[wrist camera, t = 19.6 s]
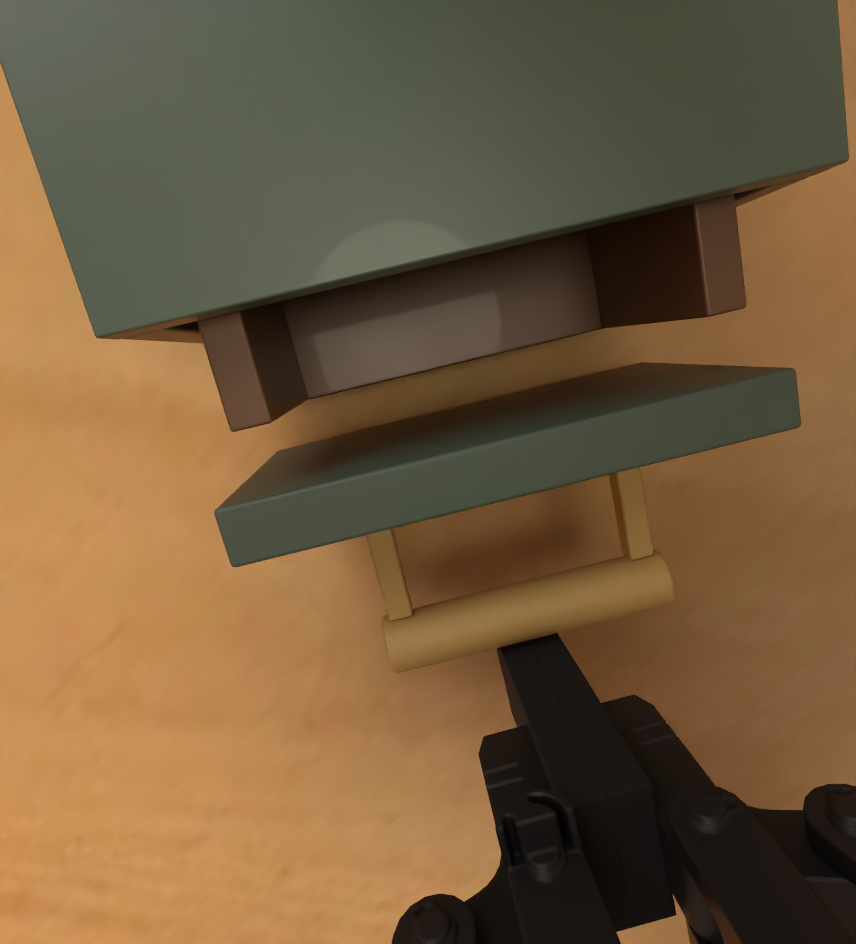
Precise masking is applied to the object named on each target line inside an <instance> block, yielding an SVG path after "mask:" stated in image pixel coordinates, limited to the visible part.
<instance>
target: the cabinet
mask: <svg viewBox="0 0 856 944" xmlns="http://www.w3.org/2000/svg"><path fill="white" fill-rule="evenodd" d="M0 63H1V66H2V69H3V71H4V74H5V77H6V80H7V83H8V86H9V89H10V92H11V95H12V97H13V100H14V103H15V106H16V109H17V112H18V115H19V118H20V120H21V123H22V126H23V129H24V132H25V135H26V138H27V141H28V144H29V146H30V149H31V152H32V155H33V158H34V161H35V164H36V167H37V169H38V172H39V175H40V178H41V181H42V184H43V187H44V190H45V193H46V195H47V198H48V201H49V204H50V207H51V210H52V213H53V216H54V219H55V221H56V224H57V227H58V230H59V233H60V236H61V239H62V242H63V244H64V247H65V250H66V253H67V256H68V259H69V262H70V265H71V268H72V270H73V273H74V276H75V279H76V282H77V285H78V288H79V291H80V293H81V296H82V299H83V302H84V305H85V308H86V311H87V314H88V317H89V319H90V322H91V325H92V328H93V331H94V334H95V336H96V338H102V339H132V340H151V341H170V342H189V343H203V340H202V336H201V333H200V330H199V327H198V323H197V321H199V320H203V319H207V318H211V317H216V316H220V315H224V314H228V313H232V312H237V311H241V310H245V309H249V308H254V307H258V306H262V305H266V304H271V303H275V302H279V301H283V300H287V299H292V298H296V297H300V296H304V295H309V294H313V293H317V292H321V291H326V290H330V289H334V288H338V287H342V286H347V285H351V284H355V283H359V282H364V281H368V280H372V279H376V278H381V277H385V276H389V275H393V274H397V273H402V272H406V271H410V270H414V269H419V268H423V267H427V266H431V265H436V264H440V263H444V262H448V261H452V260H457V259H461V258H465V257H469V256H474V255H478V254H482V253H486V252H491V251H495V250H499V249H503V248H508V247H512V246H516V245H520V244H524V243H529V242H533V241H537V240H541V239H546V238H550V237H554V236H558V235H563V234H567V233H571V232H575V231H579V230H584V229H588V228H592V227H596V226H601V225H605V224H609V223H613V222H618V221H622V220H626V219H630V218H634V217H639V216H643V215H647V214H651V213H656V212H660V211H664V210H668V209H673V208H677V207H681V206H685V205H689V204H694V203H698V202H702V201H706V200H711V199H715V198H719V197H723V196H728V195H732V194H734V199H735V207H737V206H740V205H742V204H745V203H747V202H749V201H752V200H754V199H757V198H759V197H762V196H764V195H766V194H769V193H771V192H774V191H776V190H779V189H781V188H783V187H786V186H788V185H791V184H793V183H796V182H798V181H800V180H803V179H805V178H808V177H809V176H812V175H816V174H818V173H821V172H823V171H826V170H828V169H830V168H833V167H835V166H838V165H840V164H843V163H845V162H847V161H848V159H849V153H848V139H847V126H846V112H845V98H844V85H843V71H842V58H841V44H840V30H839V17H838V3H837V0H0Z"/></svg>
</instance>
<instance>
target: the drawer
mask: <svg viewBox="0 0 856 944" xmlns="http://www.w3.org/2000/svg"><path fill="white" fill-rule="evenodd" d="M746 305H747V304H746V296H745V287H744V278H743V269H742V260H741V251H740V243H739V234H738V225H737V216H736V207H735V199H734V194H732V195H728V196H723V197H719V198H715V199H711V200H706V201H702V202H698V203H694V204H689V205H685V206H681V207H677V208H673V209H668V210H664V211H660V212H656V213H651V214H647V215H643V216H639V217H634V218H630V219H626V220H622V221H618V222H613V223H609V224H605V225H601V226H596V227H592V228H588V229H584V230H579V231H575V232H571V233H567V234H563V235H558V236H554V237H550V238H546V239H541V240H537V241H533V242H529V243H524V244H520V245H516V246H512V247H508V248H503V249H499V250H495V251H491V252H486V253H482V254H478V255H474V256H469V257H465V258H461V259H457V260H452V261H448V262H444V263H440V264H436V265H431V266H427V267H423V268H419V269H414V270H410V271H406V272H402V273H397V274H393V275H389V276H385V277H381V278H376V279H372V280H368V281H364V282H359V283H355V284H351V285H347V286H342V287H338V288H334V289H330V290H326V291H321V292H317V293H313V294H309V295H304V296H300V297H296V298H292V299H287V300H283V301H279V302H275V303H271V304H266V305H262V306H258V307H254V308H249V309H245V310H241V311H237V312H232V313H228V314H224V315H220V316H216V317H211V318H207V319H203V320H199V321H197V323H198V327H199V330H200V333H201V336H202V340H203V343H204V346H205V349H206V353H207V356H208V359H209V362H210V366H211V369H212V372H213V375H214V379H215V382H216V385H217V388H218V391H219V395H220V398H221V401H222V404H223V408H224V411H225V414H226V417H227V421H228V424H229V427H230V430H231V431H232V432H235V431H239V430H243V429H247V428H251V427H256V426H260V425H264V424H268V423H271V422H273V421H274V420H276V419H278V418H279V417H281V416H282V415H284V414H286V413H287V412H289V411H290V410H292V409H294V408H295V407H297V406H298V405H300V404H302V403H303V402H305V401H306V400H309V399H313V398H317V397H321V396H325V395H329V394H334V393H338V392H342V391H346V390H350V389H354V388H358V387H363V386H367V385H371V384H375V383H379V382H383V381H387V380H392V379H396V378H400V377H404V376H408V375H412V374H417V373H421V372H425V371H429V370H433V369H437V368H441V367H446V366H450V365H454V364H458V363H462V362H466V361H470V360H475V359H479V358H483V357H487V356H491V355H495V354H499V353H504V352H508V351H512V350H516V349H520V348H524V347H528V346H533V345H537V344H541V343H545V342H549V341H553V340H558V339H562V338H566V337H570V336H574V335H578V334H582V333H587V332H591V331H595V330H599V329H603V328H612V327H621V326H630V325H639V324H648V323H657V322H666V321H676V320H685V319H694V318H703V317H710V316H715V315H719V314H723V313H727V312H731V311H735V310H739V309H743V308H745V307H746ZM800 425H801V420H800V409H799V399H798V389H797V379H796V371H795V369H793V368H776V367H749V366H722V365H696V364H669V363H638V364H634V365H629V366H625V367H621V368H617V369H613V370H609V371H605V372H601V373H597V374H592V375H588V376H584V377H580V378H576V379H572V380H568V381H564V382H560V383H555V384H551V385H547V386H543V387H539V388H535V389H531V390H527V391H523V392H518V393H514V394H510V395H506V396H502V397H498V398H494V399H490V400H486V401H481V402H477V403H473V404H469V405H465V406H461V407H457V408H453V409H449V410H444V411H440V412H436V413H432V414H428V415H424V416H420V417H416V418H412V419H407V420H403V421H399V422H395V423H391V424H387V425H383V426H379V427H375V428H370V429H366V430H362V431H358V432H354V433H350V434H346V435H342V436H338V437H333V438H329V439H325V440H321V441H317V442H313V443H309V444H305V445H300V446H296V447H292V448H288V449H284V450H280V451H278V452H276V453H275V454H274V455H273V456H272V457H271V458H270V459H269V460H268V461H267V462H266V463H265V464H264V465H263V466H262V467H261V468H259V469H258V470H257V471H256V472H255V473H254V474H253V475H252V476H251V477H250V478H249V479H248V480H247V481H246V482H245V483H243V484H242V485H241V486H240V487H239V488H238V489H237V490H236V491H235V492H234V493H233V494H232V495H231V496H230V497H229V498H228V499H226V500H225V501H224V502H223V503H222V504H221V505H220V506H219V507H218V508H217V509H216V510H215V517H216V520H217V523H218V526H219V529H220V533H221V536H222V539H223V542H224V545H225V548H226V551H227V554H228V557H229V560H230V563H231V565H232V567H239V566H243V565H247V564H251V563H255V562H259V561H263V560H267V559H271V558H275V557H279V556H284V555H288V554H292V553H296V552H300V551H304V550H308V549H312V548H316V547H320V546H324V545H328V544H332V543H336V542H340V541H344V540H348V539H352V538H356V537H360V536H364V535H366V537H367V540H368V544H369V548H370V552H371V555H372V559H373V563H374V566H375V570H376V574H377V578H378V581H379V585H380V589H381V592H382V596H383V600H384V603H385V607H386V611H387V615H386V616H384V617H383V619H382V628H383V635H384V641H385V645H386V650H387V654H388V658H389V661H390V664H391V667H392V670H393V671H394V673H397V674H398V673H402V672H406V671H410V670H414V669H417V668H421V667H425V666H429V665H433V664H437V663H441V662H445V661H449V660H453V659H457V658H461V657H465V656H468V655H472V654H476V653H480V652H484V651H488V650H492V649H496V648H500V647H504V646H508V645H512V644H516V643H519V642H523V641H527V640H531V639H535V638H539V637H543V636H547V635H551V634H555V633H559V632H563V631H567V630H571V629H574V628H578V627H582V626H586V625H590V624H594V623H598V622H602V621H606V620H610V619H614V618H618V617H622V616H625V615H629V614H633V613H637V612H641V611H645V610H649V609H653V608H657V607H661V606H665V605H669V604H670V603H672V602H673V600H674V584H673V580H672V576H671V573H670V571H669V568H668V566H667V564H666V562H665V560H664V559H663V557H662V556H661V555H660V553H659V552H657V551H656V550H654V549H653V546H652V540H651V534H650V528H649V521H648V515H647V509H646V503H645V496H644V490H643V484H642V478H641V471H640V467H642V466H646V465H650V464H654V463H658V462H662V461H667V460H671V459H675V458H679V457H683V456H687V455H691V454H695V453H699V452H703V451H707V450H711V449H715V448H719V447H723V446H727V445H731V444H735V443H739V442H743V441H747V440H751V439H755V438H759V437H763V436H767V435H771V434H775V433H779V432H783V431H787V430H791V429H796V428H798V427H800ZM606 475H609V478H610V484H611V490H612V495H613V501H614V507H615V513H616V519H617V524H618V530H619V536H620V542H621V548H622V552H623V554H624V555H625V556H621V557H617V558H613V559H609V560H605V561H601V562H597V563H593V564H589V565H585V566H581V567H577V568H573V569H569V570H565V571H561V572H557V573H553V574H549V575H545V576H541V577H537V578H533V579H529V580H525V581H521V582H517V583H513V584H510V585H506V586H502V587H498V588H494V589H490V590H486V591H482V592H478V593H474V594H470V595H466V596H462V597H458V598H454V599H450V600H446V601H442V602H438V603H434V604H430V605H426V606H422V607H418V608H414V609H412V603H411V599H410V595H409V591H408V587H407V583H406V579H405V576H404V572H403V568H402V564H401V560H400V556H399V552H398V549H397V545H396V541H395V537H394V533H393V529H392V528H396V527H400V526H404V525H408V524H413V523H417V522H421V521H425V520H429V519H433V518H437V517H441V516H445V515H449V514H453V513H457V512H461V511H465V510H469V509H473V508H477V507H481V506H485V505H489V504H493V503H497V502H501V501H505V500H509V499H513V498H517V497H521V496H525V495H529V494H533V493H538V492H542V491H546V490H550V489H554V488H558V487H562V486H566V485H570V484H574V483H578V482H582V481H586V480H590V479H594V478H598V477H602V476H606Z"/></svg>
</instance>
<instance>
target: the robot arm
mask: <svg viewBox="0 0 856 944" xmlns="http://www.w3.org/2000/svg"><path fill="white" fill-rule="evenodd" d="M497 652H498V656H499V660H500V665H501V669H502V673H503V677H504V681H505V685H506V690H507V694H508V698H509V702H510V706H511V711H512V714H513V717H514V720H515V722H516V725H517V728H513V729H510V730H506V731H502V732H498V733H495V734H491V735H487V736H484V737H483V741H482V744H481V747H480V751H479V758H480V762H481V766H482V771H483V775H484V779H485V783H486V787H487V791H488V795H489V800H490V804H491V808H492V812H493V816H494V820H495V824H496V833H497V837H498V841H499V845H500V849H501V860H500V866H499V868H498V870H497V872H496V874H495V876H494V877H493V879H492V880H491V881H490V882H489V884H488V885H487V886H486V887H485V888H483V889H482V890H481V891H480V892H478V893H477V894H476V895H474V896H473V897H471V898H469V899H468V900H466V901H465V902H463V901H462V900H460V899H458V898H457V897H455V896H453V895H446V894H436V895H432V896H427V897H424V898H422V899H421V900H419V901H418V902H416V903H415V904H413V905H411V906H410V907H409V909H408V910H407V911H406V912H405V913H404V915H403V916H402V917H401V918H400V920H399V922H398V925H397V927H396V930H395V932H394V935H393V940H392V944H621V943H620V941H619V938H618V936H617V933H616V932H617V931H621V930H625V929H628V928H632V927H635V926H639V925H642V924H646V923H650V922H653V921H657V920H660V919H664V918H668V917H671V916H675V915H676V910H675V905H674V900H673V895H674V896H675V898H676V900H677V902H678V904H679V906H680V908H681V909H682V911H683V913H684V915H685V917H686V923H687V928H688V934H689V939H690V944H856V787H855V786H851V785H847V784H827V785H824V786H820V787H817V788H814V789H813V790H812V791H811V792H810V793H809V794H808V795H807V796H806V797H805V801H804V806H803V810H767V809H758V808H754V807H750V806H747V805H746V804H745V803H744V802H743V801H742V800H740V799H739V798H738V797H737V796H736V795H735V794H733V793H731V792H729V791H727V790H724V789H722V788H720V787H716V786H715V785H714V783H713V782H712V781H711V780H710V778H709V777H708V776H707V774H706V773H705V772H704V770H703V769H702V768H701V767H700V765H699V764H698V763H697V761H696V760H695V759H694V757H693V756H692V755H691V754H690V752H689V751H688V750H687V748H686V747H685V746H684V744H683V743H682V742H681V741H680V739H679V738H678V737H676V735H675V733H674V732H673V730H672V729H671V728H670V726H669V725H668V724H666V721H665V720H664V719H663V717H662V716H661V715H660V713H659V712H658V711H657V709H656V708H655V707H654V706H653V705H652V704H650V703H648V702H647V701H645V700H643V699H641V698H640V697H638V696H636V695H630V696H626V697H623V698H619V699H615V700H612V701H608V702H604V703H601V702H600V701H599V699H598V697H597V696H596V694H595V693H594V691H593V689H592V688H591V686H590V685H589V683H588V681H587V680H586V678H585V677H584V675H583V673H582V672H581V670H580V669H579V667H578V665H577V664H576V662H575V661H574V659H573V657H572V656H571V654H570V653H569V651H568V650H567V648H566V646H565V645H564V643H563V642H562V640H561V638H560V637H559V635H558V634H557V633H555V634H551V635H547V636H543V637H539V638H535V639H531V640H527V641H523V642H519V643H516V644H512V645H508V646H504V647H500V648H497ZM672 893H673V894H672Z"/></svg>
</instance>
